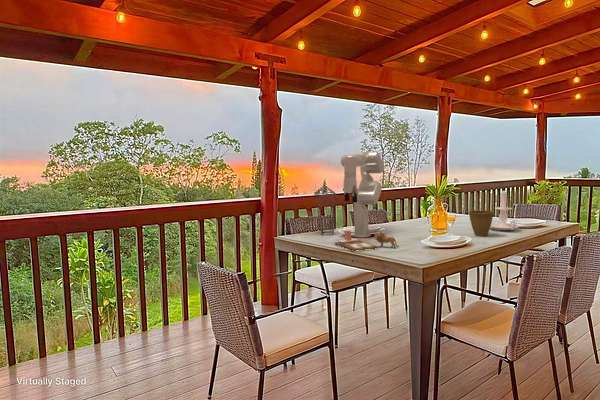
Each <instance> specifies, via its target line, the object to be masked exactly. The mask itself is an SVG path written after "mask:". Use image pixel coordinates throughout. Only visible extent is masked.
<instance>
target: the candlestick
mask: <svg viewBox="0 0 600 400" xmlns="http://www.w3.org/2000/svg"><path fill="white" fill-rule="evenodd" d="M507 197H508V192H507V190H503V191H500V206H497V207H494V209H496V210H499V211H500V213H499V214H498V218H499V220H500V221H501V222H497V223H495V222H494V223H493V222H492V223H491V227H490V229H493V230H496V231H508V232H509V231H513V230H516V229H518V228H520V225H519V224H516V222H517V220H511V221H510V223H507V222H506V221H507V220H508V217H509V215H508V213H507V211H509V210H512V209H513V207H508V206H507V202H508V201H507V199H508V198H507Z"/></svg>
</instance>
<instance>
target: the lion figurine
mask: <svg viewBox="0 0 600 400" xmlns="http://www.w3.org/2000/svg"><path fill="white" fill-rule="evenodd" d="M374 239H375V241H377V243H380V248H381V247H382V248H383V247H384V244H389V243H390V244H391V246H390V248H393V249H394V248H395V249H396V248H400V246H399V245H398V244H397V241H396V239H395V237H394V236H385V235H384V234H383V233H380V232H374Z"/></svg>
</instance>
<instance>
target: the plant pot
mask: <svg viewBox="0 0 600 400" xmlns="http://www.w3.org/2000/svg"><path fill="white" fill-rule="evenodd" d="M468 215H469V221H470V224H471V228H472V231H473V233H474V235H475V237H488V234H489V232H490V229H491V224H492V223H493V218H494V211H491V210H470V211H468Z"/></svg>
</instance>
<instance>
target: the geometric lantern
mask: <svg viewBox="0 0 600 400" xmlns="http://www.w3.org/2000/svg"><path fill="white" fill-rule="evenodd" d="M322 190H323V191H322ZM321 191H322V192H321ZM328 191H329V192H328ZM313 194H314V198H315V201H316V203H317V230H318V231H320V233H321V235H322V236H323V235H325V236H327V235H329V236H330V235H331V236H332V235H334V231H335V230H336V229H337V223H336V215H335V205H334V202H335V199H336V195H337V193H336V191H333V190H332V189H331V188H330V187H328V186H326V185H323V186H321V187H320V188H319V189H318V190H317V191H315V192H314V193H313ZM317 197H318V198H320V203H319V200H318V198H317ZM331 197H333V199H332V200H333V201H331V200H330V198H331ZM324 200H327V202H323V201H324ZM327 205H330V211H331V224H329V225H328V227H331V228H322V227H326V225H322V214H321V213H322V207H325V206H327ZM319 221H320V222H319Z"/></svg>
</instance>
